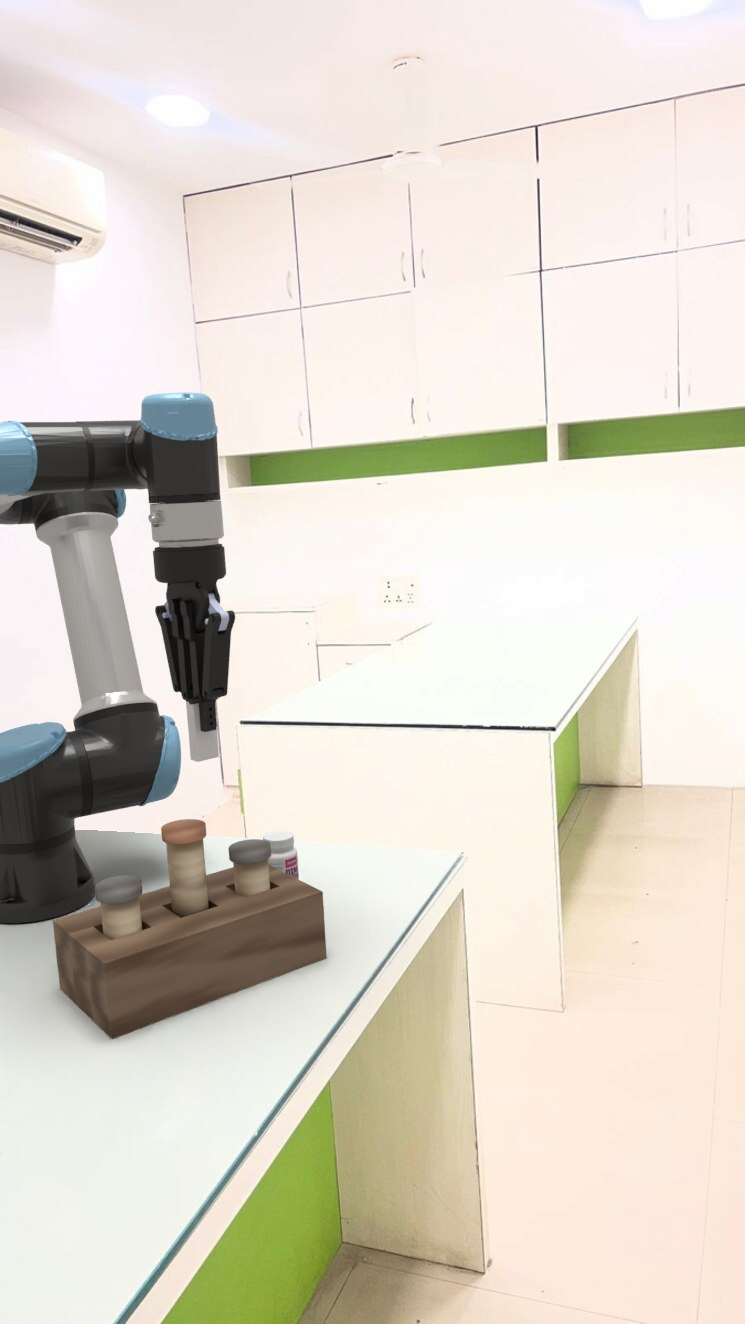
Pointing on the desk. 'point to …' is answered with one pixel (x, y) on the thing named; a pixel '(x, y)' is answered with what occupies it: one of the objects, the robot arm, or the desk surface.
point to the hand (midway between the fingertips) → (204, 758)
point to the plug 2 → (250, 866)
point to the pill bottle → (283, 852)
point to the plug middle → (186, 865)
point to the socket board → (188, 950)
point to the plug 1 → (120, 905)
